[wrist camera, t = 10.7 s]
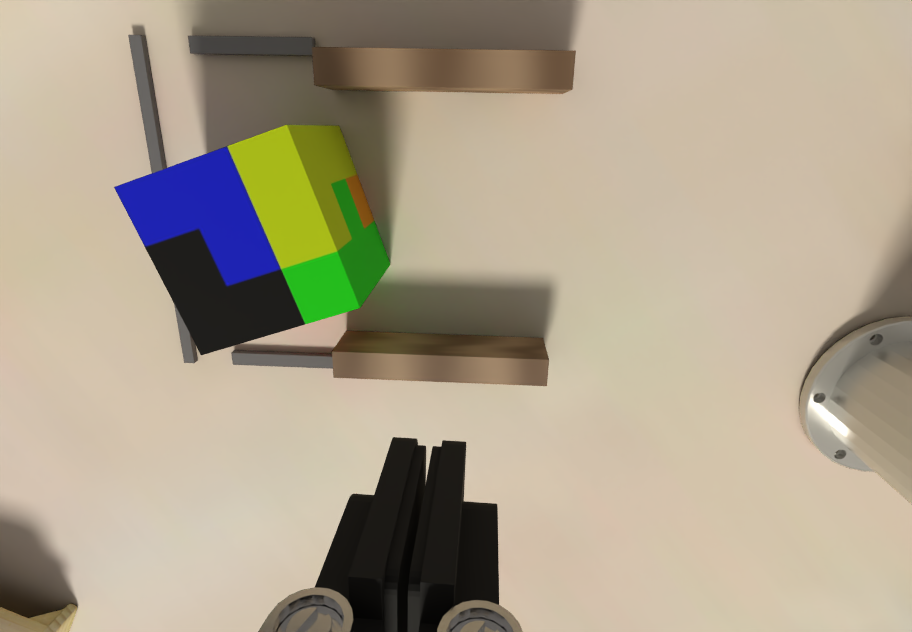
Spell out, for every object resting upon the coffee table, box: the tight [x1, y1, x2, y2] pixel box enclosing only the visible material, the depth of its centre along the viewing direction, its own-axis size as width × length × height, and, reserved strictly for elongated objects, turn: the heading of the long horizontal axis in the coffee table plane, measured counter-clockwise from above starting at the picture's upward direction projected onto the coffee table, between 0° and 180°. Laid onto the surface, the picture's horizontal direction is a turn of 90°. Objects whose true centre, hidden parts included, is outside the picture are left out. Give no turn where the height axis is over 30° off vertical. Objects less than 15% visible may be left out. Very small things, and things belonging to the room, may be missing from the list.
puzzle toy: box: [114, 125, 390, 355], centre depth 33 cm, size 10×10×10 cm
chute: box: [312, 47, 576, 386], centre depth 35 cm, size 15×21×4 cm
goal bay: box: [128, 35, 333, 368], centre depth 37 cm, size 12×23×1 cm, turn 179°
